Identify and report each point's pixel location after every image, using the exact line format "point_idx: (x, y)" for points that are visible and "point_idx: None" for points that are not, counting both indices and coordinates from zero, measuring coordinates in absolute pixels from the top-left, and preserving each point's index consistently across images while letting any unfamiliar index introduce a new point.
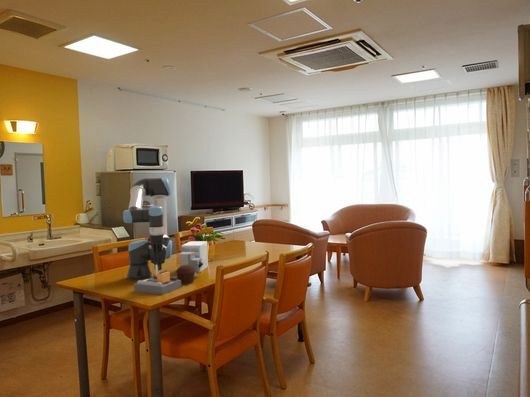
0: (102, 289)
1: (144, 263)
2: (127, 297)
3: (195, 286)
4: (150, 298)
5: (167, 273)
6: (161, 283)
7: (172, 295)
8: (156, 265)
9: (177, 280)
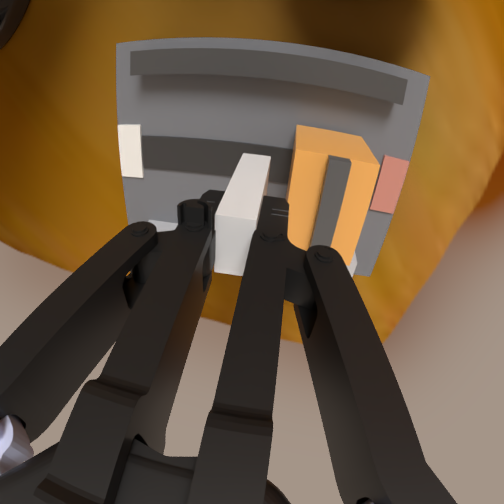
0: (19, 223)
1: None
2: (205, 304)
3: (491, 59)
4: None
5: (367, 196)
6: (354, 269)
7: (420, 253)
8: (235, 270)
9: (406, 91)
